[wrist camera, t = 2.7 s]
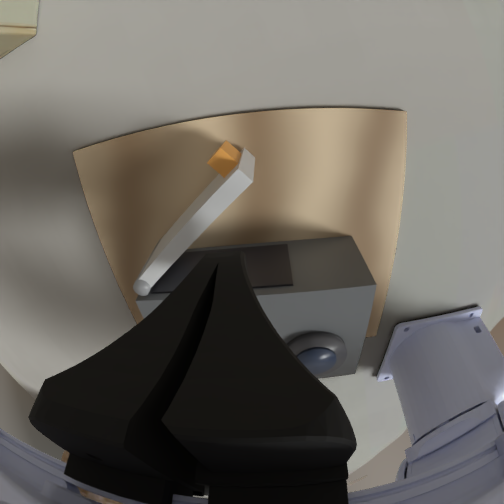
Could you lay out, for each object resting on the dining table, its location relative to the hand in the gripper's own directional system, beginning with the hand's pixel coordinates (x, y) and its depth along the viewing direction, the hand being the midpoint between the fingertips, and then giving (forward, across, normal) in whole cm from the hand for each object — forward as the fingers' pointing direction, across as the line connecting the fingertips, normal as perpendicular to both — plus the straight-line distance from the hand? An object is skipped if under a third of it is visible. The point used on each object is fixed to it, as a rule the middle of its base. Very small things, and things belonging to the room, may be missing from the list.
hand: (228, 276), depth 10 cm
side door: (+5, +2, -1) cm, 6 cm away
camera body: (+6, -1, +6) cm, 8 cm away
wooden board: (+6, 0, +3) cm, 7 cm away
